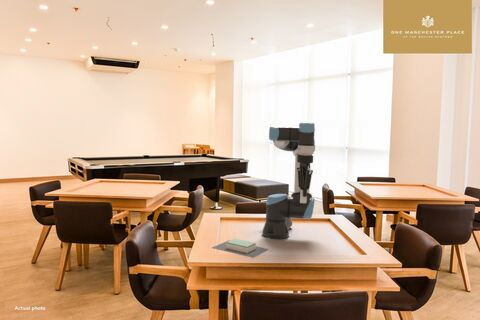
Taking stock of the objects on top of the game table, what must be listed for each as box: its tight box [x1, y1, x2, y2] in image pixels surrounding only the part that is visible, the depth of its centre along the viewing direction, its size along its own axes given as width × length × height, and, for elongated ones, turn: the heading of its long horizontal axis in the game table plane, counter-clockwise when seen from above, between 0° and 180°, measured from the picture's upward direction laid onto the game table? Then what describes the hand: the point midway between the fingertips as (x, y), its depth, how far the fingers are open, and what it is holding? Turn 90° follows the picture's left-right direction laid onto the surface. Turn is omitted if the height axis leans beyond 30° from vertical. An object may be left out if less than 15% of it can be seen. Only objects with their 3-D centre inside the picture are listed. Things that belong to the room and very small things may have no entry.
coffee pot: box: [258, 202, 293, 230], centre depth 228 cm, size 21×12×15 cm, turn 87°
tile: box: [226, 238, 257, 253], centre depth 183 cm, size 3×8×12 cm
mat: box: [211, 240, 270, 259], centre depth 184 cm, size 24×16×1 cm, turn 58°
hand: (303, 202), depth 181 cm, fingers closed
